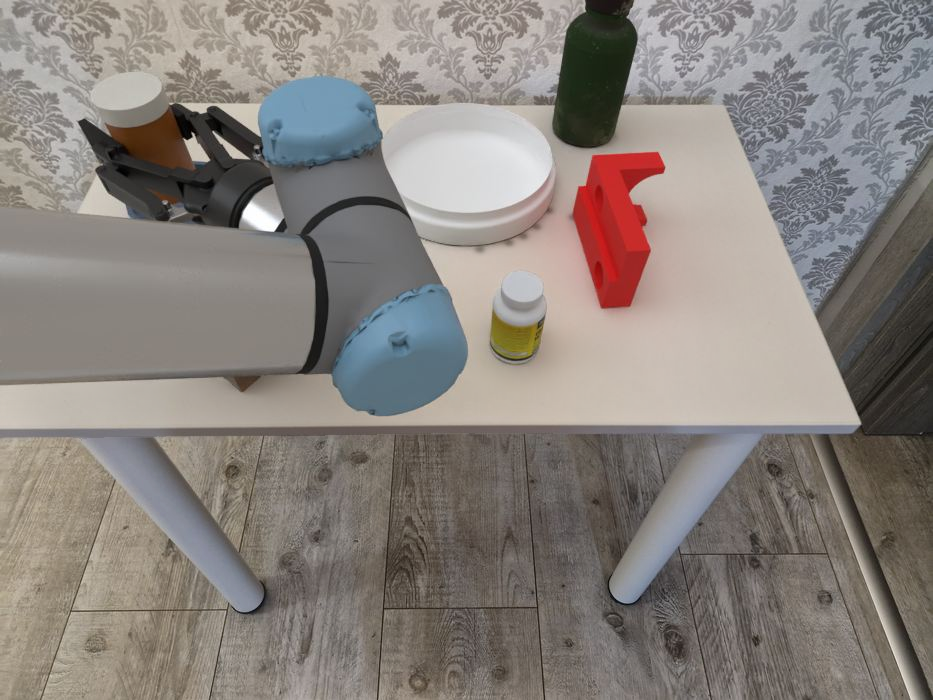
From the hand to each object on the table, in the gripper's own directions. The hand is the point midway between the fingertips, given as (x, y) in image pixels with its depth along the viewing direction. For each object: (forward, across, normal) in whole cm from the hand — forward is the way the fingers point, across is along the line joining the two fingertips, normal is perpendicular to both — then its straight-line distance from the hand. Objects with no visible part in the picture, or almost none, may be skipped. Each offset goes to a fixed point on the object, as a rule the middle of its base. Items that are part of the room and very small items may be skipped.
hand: (118, 117), depth 62 cm
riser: (-15, -4, -24) cm, 28 cm away
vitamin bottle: (-5, 0, -6) cm, 8 cm away
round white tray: (-15, +38, -24) cm, 47 cm away
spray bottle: (-21, +61, -24) cm, 69 cm away
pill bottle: (-39, +18, -24) cm, 49 cm away
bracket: (-41, +40, -24) cm, 62 cm away
